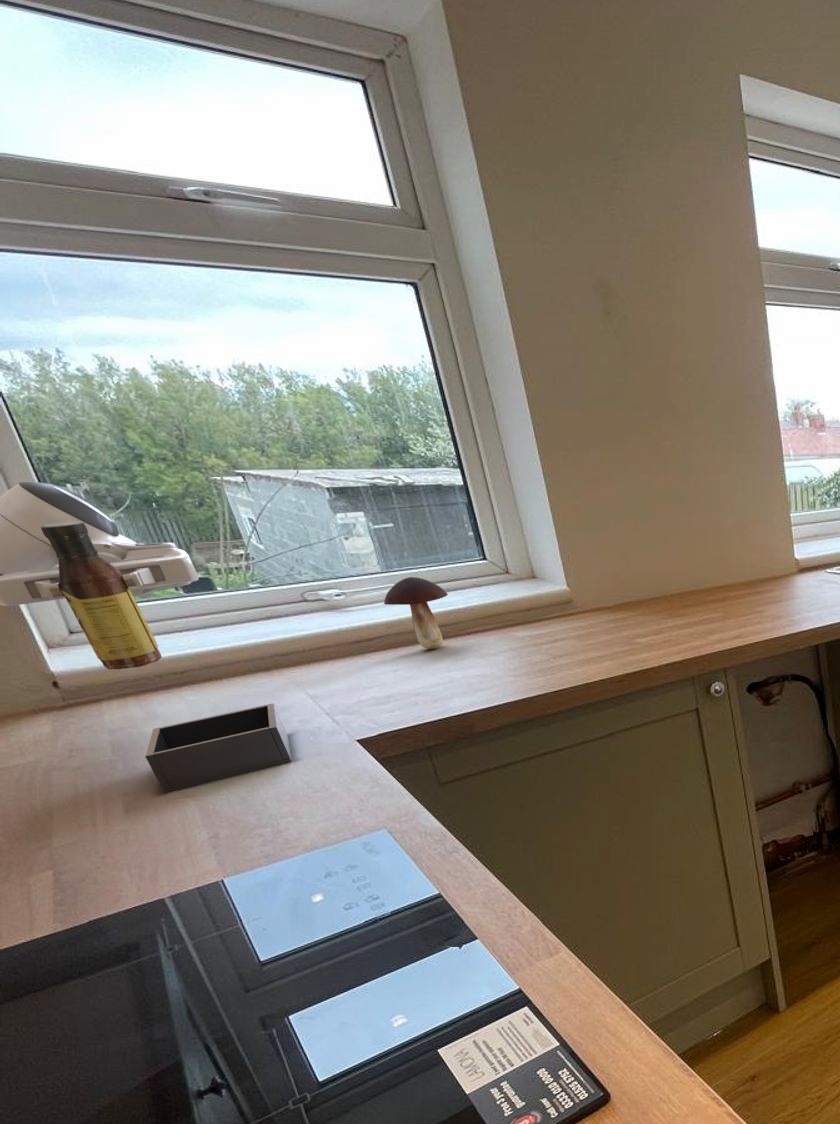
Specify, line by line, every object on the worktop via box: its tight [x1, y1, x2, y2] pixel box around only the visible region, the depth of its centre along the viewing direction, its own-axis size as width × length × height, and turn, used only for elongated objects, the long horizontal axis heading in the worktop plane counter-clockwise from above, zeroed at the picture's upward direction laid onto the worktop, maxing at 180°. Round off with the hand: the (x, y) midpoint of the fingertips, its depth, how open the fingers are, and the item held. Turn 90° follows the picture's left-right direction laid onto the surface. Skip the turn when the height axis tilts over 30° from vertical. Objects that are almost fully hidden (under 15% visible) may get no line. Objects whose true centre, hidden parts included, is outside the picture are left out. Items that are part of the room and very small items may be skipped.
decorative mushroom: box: [383, 576, 449, 650], centre depth 166 cm, size 11×11×15 cm
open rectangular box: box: [145, 703, 292, 794], centre depth 117 cm, size 14×14×6 cm
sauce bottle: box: [41, 521, 162, 671], centre depth 111 cm, size 6×6×20 cm
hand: (93, 586), depth 110 cm, fingers closed on sauce bottle, 6 cm apart
